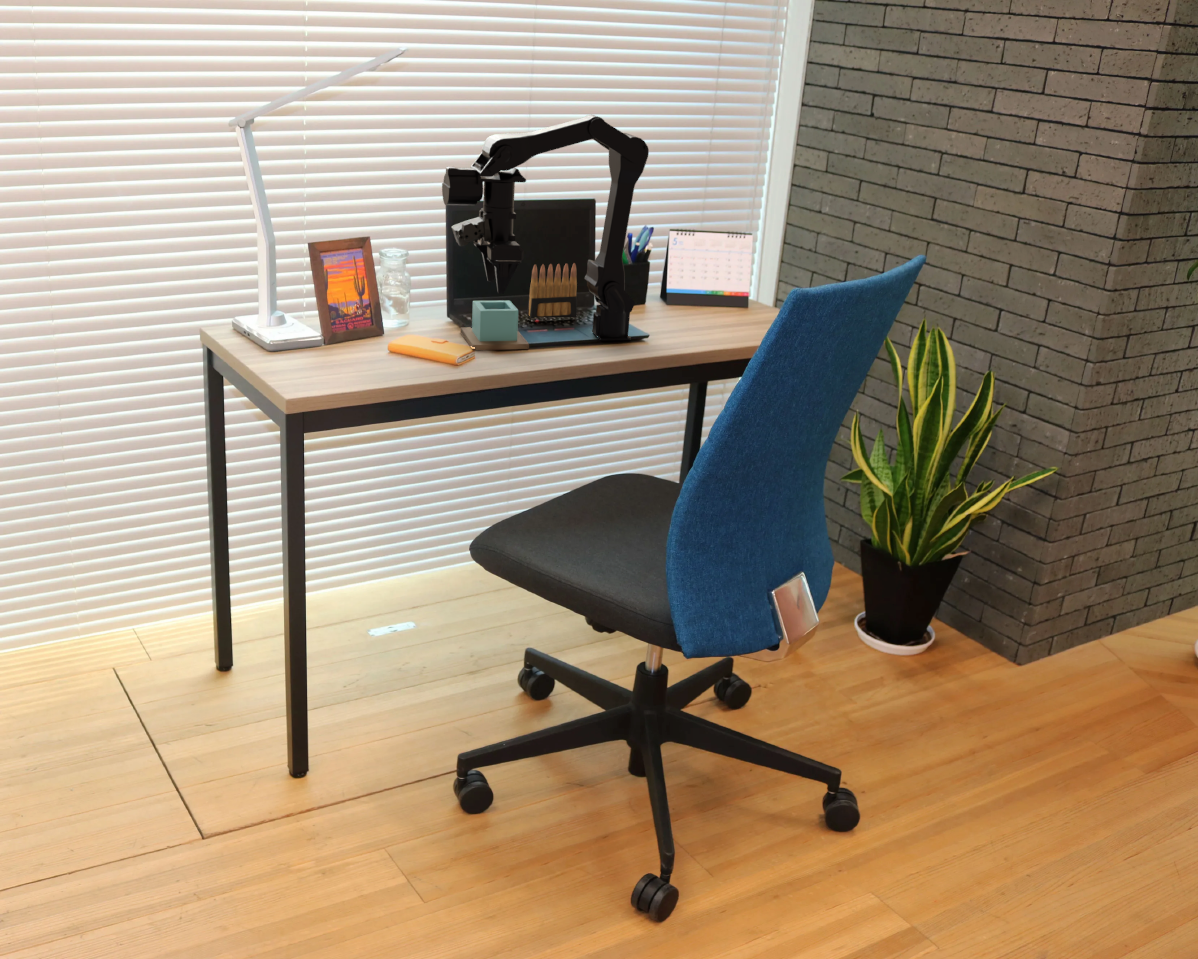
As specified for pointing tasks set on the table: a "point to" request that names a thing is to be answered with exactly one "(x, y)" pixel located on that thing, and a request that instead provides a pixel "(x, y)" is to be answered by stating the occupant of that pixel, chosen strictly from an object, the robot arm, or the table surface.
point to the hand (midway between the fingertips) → (495, 287)
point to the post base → (493, 345)
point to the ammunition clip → (553, 293)
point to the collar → (495, 320)
